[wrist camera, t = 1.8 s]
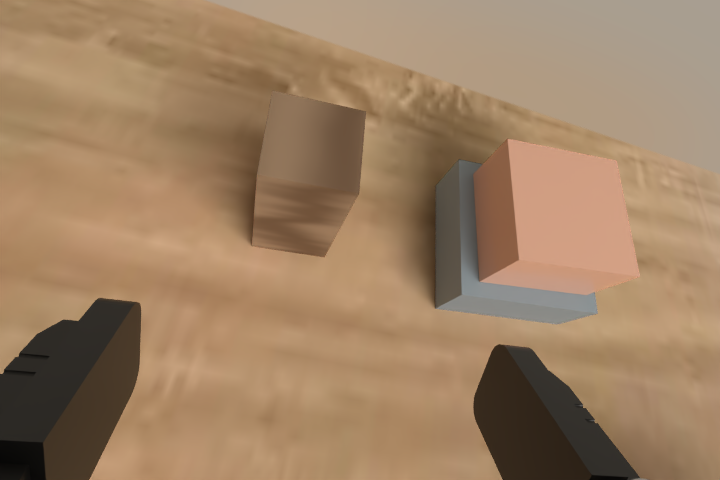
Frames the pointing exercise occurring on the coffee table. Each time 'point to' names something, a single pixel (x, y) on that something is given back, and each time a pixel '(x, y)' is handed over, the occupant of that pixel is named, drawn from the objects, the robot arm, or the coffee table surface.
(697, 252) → the coffee table surface
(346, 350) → the coffee table surface
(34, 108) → the coffee table surface
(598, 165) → the tower cap
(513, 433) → the robot arm
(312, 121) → the pillar
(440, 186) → the tower base
